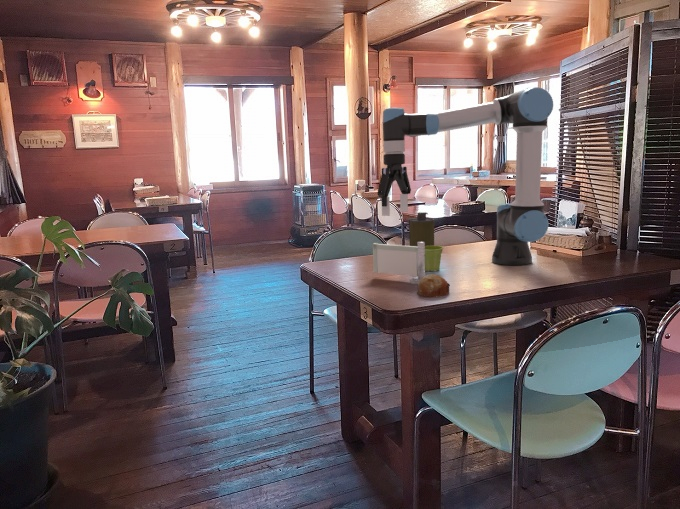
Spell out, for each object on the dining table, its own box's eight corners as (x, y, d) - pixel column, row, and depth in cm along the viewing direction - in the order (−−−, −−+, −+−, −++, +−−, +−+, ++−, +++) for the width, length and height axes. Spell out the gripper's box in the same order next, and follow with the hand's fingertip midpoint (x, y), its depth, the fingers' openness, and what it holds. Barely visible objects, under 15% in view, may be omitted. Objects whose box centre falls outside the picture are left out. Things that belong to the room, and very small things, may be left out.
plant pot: (428, 273, 205) (428, 250, 204) (413, 269, 213) (413, 247, 212) (448, 270, 209) (448, 247, 208) (433, 266, 218) (433, 244, 216)
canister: (434, 258, 233) (433, 211, 230) (435, 263, 223) (435, 213, 220) (408, 259, 235) (407, 211, 231) (408, 264, 224) (407, 214, 221)
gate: (418, 276, 193) (418, 245, 191) (416, 277, 192) (416, 246, 190) (375, 271, 203) (375, 243, 201) (373, 272, 202) (372, 243, 200)
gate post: (433, 281, 193) (432, 241, 190) (425, 285, 188) (425, 244, 185) (417, 279, 196) (417, 240, 194) (409, 283, 191) (409, 243, 189)
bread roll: (419, 301, 182) (409, 280, 180) (447, 286, 182) (437, 265, 180) (427, 309, 172) (415, 287, 171) (456, 293, 172) (445, 271, 171)
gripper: (401, 153, 209) (402, 209, 212) (366, 154, 189) (368, 217, 193) (419, 152, 204) (420, 210, 208) (385, 153, 185) (386, 217, 188)
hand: (395, 213), depth 200 cm, fingers open, 12 cm apart
